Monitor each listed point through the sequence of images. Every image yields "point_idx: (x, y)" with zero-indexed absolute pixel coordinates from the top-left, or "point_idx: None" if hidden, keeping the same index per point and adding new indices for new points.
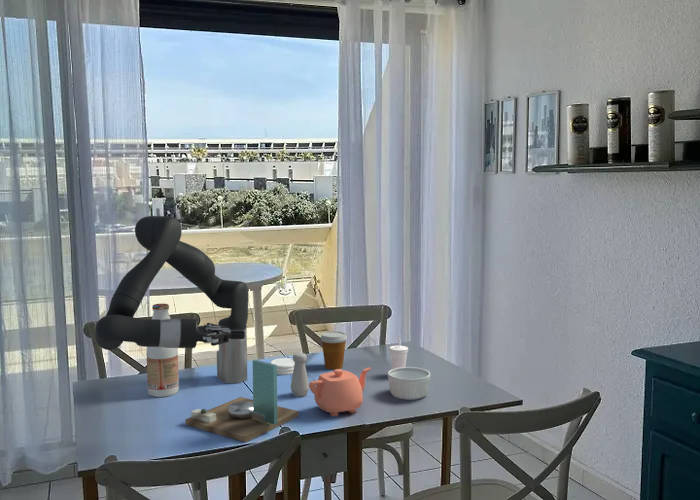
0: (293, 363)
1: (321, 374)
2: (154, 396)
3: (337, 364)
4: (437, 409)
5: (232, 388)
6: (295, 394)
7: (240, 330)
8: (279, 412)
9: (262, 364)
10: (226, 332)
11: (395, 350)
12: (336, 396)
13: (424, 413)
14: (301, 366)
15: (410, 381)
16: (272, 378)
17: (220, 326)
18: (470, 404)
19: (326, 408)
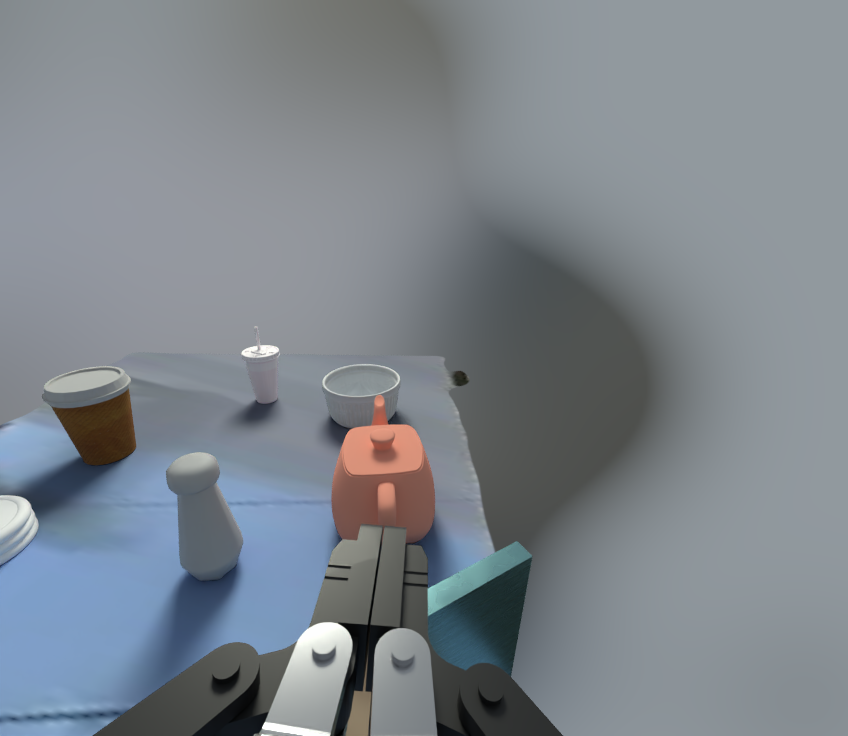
0: (14, 509)
1: (350, 470)
2: None
3: (131, 441)
4: (447, 409)
5: None
6: (220, 575)
7: (380, 542)
8: (366, 667)
9: (470, 596)
10: (500, 698)
11: (268, 356)
12: (432, 492)
13: (458, 423)
14: (215, 492)
15: (396, 389)
16: (519, 603)
17: (176, 725)
18: (441, 383)
19: (422, 535)
